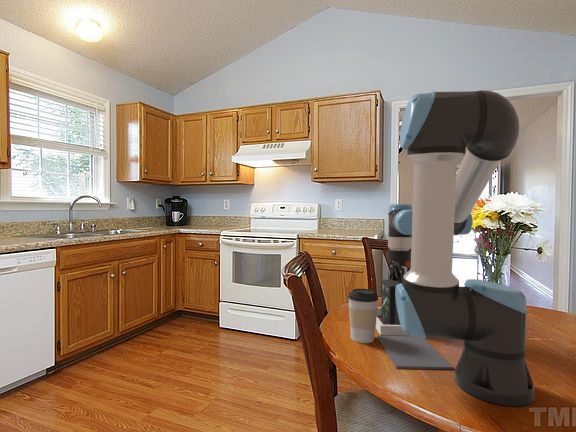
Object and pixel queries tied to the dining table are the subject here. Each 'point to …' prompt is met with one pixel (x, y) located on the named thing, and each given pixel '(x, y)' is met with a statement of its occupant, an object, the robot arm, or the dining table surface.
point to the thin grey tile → (413, 353)
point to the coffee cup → (362, 314)
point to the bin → (388, 327)
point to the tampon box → (389, 303)
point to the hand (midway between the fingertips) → (398, 312)
